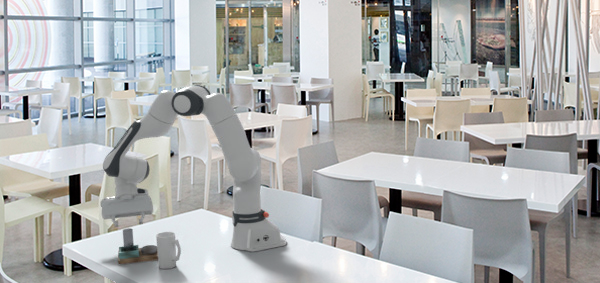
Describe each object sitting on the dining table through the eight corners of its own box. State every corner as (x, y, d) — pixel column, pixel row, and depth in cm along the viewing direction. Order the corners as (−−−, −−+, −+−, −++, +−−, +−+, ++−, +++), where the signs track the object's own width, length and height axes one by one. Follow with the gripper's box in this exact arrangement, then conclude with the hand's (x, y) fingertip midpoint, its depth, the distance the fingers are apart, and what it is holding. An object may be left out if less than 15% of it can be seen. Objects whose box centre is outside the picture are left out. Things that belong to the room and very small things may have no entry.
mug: (154, 267, 208) (152, 235, 206) (167, 261, 214) (165, 230, 212) (175, 272, 203) (173, 239, 202) (187, 265, 209) (185, 234, 207)
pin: (134, 252, 220) (132, 228, 218) (134, 256, 216) (132, 230, 215) (124, 254, 219) (122, 229, 217) (124, 257, 215) (122, 231, 214)
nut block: (157, 249, 228) (157, 239, 227) (159, 259, 216) (159, 249, 216) (118, 254, 223) (118, 244, 223) (118, 264, 212) (117, 254, 211)
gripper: (99, 194, 231) (100, 224, 223) (151, 189, 236) (154, 218, 229) (101, 202, 235) (102, 231, 228) (151, 197, 241) (154, 225, 234)
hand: (128, 225), depth 228 cm, fingers open, 8 cm apart
